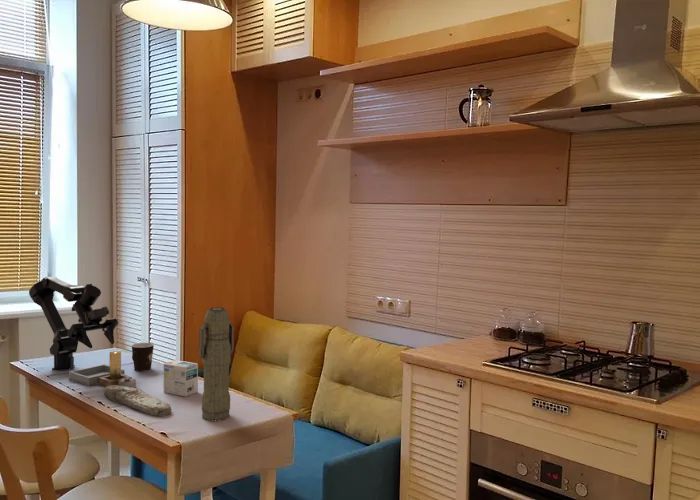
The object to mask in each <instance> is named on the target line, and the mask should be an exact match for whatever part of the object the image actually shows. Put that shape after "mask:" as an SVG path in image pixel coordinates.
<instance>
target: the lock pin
mask: <svg viewBox="0 0 700 500" xmlns="http://www.w3.org/2000/svg"><path fill="white" fill-rule="evenodd" d="M109 366H110V380H113V381H114V380H118V379H121V369H122V351H118V350H114V351H109Z"/></svg>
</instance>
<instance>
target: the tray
mask: <svg viewBox="0 0 700 500" xmlns="http://www.w3.org/2000/svg"><path fill="white" fill-rule="evenodd" d="M121 374H123V375H125V369H123V368H121ZM108 375H110V364H109V365H108V364H105V363H104V364H100V365H94V366H90V367H85V368H80V369H76V370H71V371H68V379H69V380H70V381H72V382H76V383H78V384H82V385H85V386H87V387H90V386H96V385H99V378H100V377H104V376H108Z"/></svg>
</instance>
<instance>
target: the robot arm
mask: <svg viewBox="0 0 700 500" xmlns="http://www.w3.org/2000/svg"><path fill="white" fill-rule="evenodd" d="M56 292H57V293H58V294H61V295H62V297H63V299H64V300H65V301H67V302H69V303H71V302H74V304H72V307H71V312H76V314H77V316H78V320H77V321H78V323H73V324H71V326H70V327H69V328H67V327H66V325H65V323H64V321H63V318H62V317H61V315H60V313H59V310H58V308H57V307H56V305H55V304H56V303H54V300H53V299H54V295H55V293H56ZM101 294H102V291H101V289H100V288H98V287H97V286H95V285H93V284H92V283H87V284H85V286H83V285H79V284H70V283H68V282H66V281H63V280H61V279H60V278H58V277H57V276H46V277H43V278H42V279H41V280H40V281H37V282H36V283H35V284H33V285H32V286H31V288H29V290H28V295H29V297H30V298H31V300H32V301H33V303H35V304H37V305H38V306H40V307H41V310H42V311H43V314H44V316H45V319H46V321H47V323H48V324H49V326H50V330H52V333H53V338H52V345H51V346H50V347H49V355H51V356H53V367H52V368H51V370H54V371H55V370H56V371H68V370H71V369H72V368H75V367H76V365H75V363H74V362H75V357H74V356H73V354H74V353H77V350H78V345H79V343H81V344H83V345H85V346H86V347H88V348H89V349H92V348H93V345H92V342H91V341H90V338H89V336H88V335H87V332H89V331H91V332H92V331H98V330H102V332H104V333H103V335H104V336H105V338H106V339H107V340H108V341H109V343H110V345H114V344H115V336H114V330H115V329H116V327H117V326H118V325H119V323H120V322H119V321H118V319H117V318H115V317H114V318H106V319H105V321H104V322H103V323H101V322H102V321H103V318H105V317H107V316H108V315H109V314H110V310H109V307H108V306H102V307H100V308H95V309H93V307H92V306H94V305H95V304H96V303H97V301H98V299H99V298H100V296H101Z"/></svg>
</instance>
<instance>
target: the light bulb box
mask: <svg viewBox="0 0 700 500" xmlns="http://www.w3.org/2000/svg"><path fill="white" fill-rule="evenodd" d="M198 392H199V364H198V362H191V361H183V360H177V359H174V360H171V361H167V362H164V363H163V393H167V394H172V395H177V396H182V397H188V396H191V395H193V394H196V393H198Z"/></svg>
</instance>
